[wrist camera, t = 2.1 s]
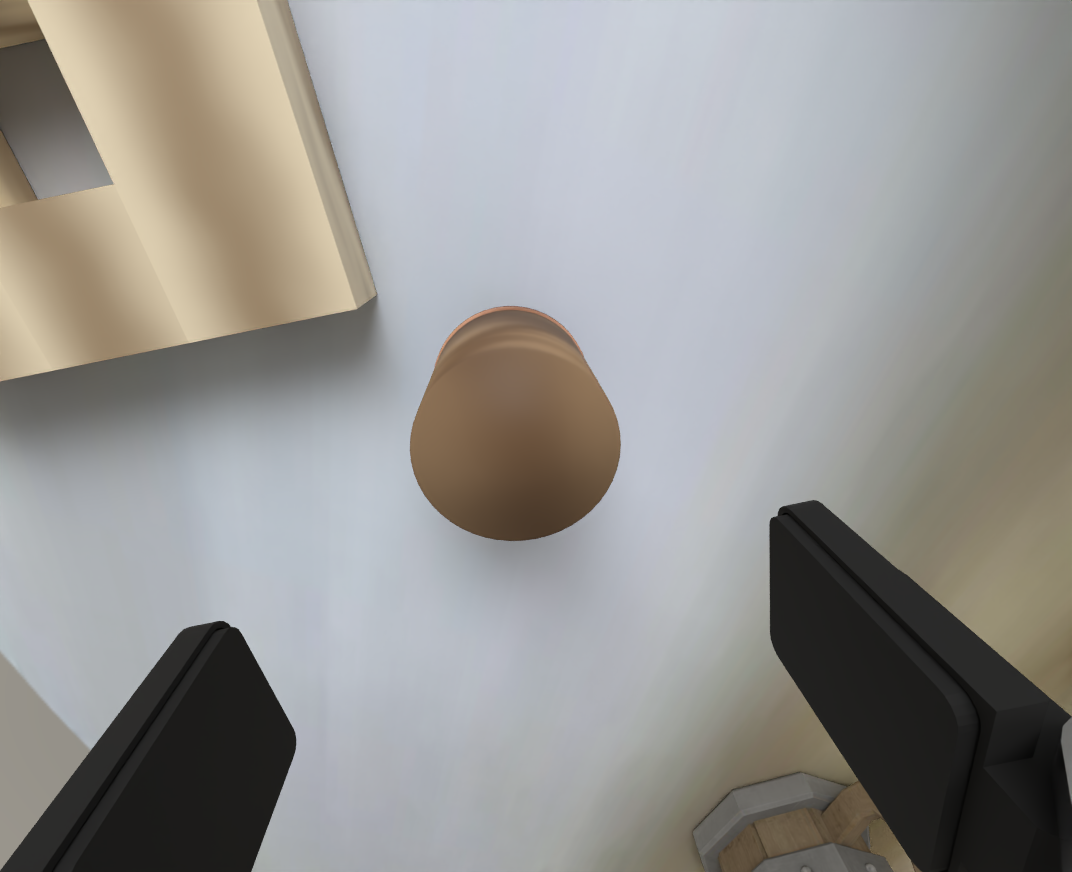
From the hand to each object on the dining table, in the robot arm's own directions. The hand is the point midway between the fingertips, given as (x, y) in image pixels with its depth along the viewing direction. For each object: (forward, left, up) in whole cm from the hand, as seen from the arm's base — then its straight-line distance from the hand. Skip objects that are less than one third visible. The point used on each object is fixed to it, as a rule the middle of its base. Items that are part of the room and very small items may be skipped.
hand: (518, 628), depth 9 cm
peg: (0, 0, -16) cm, 16 cm away
